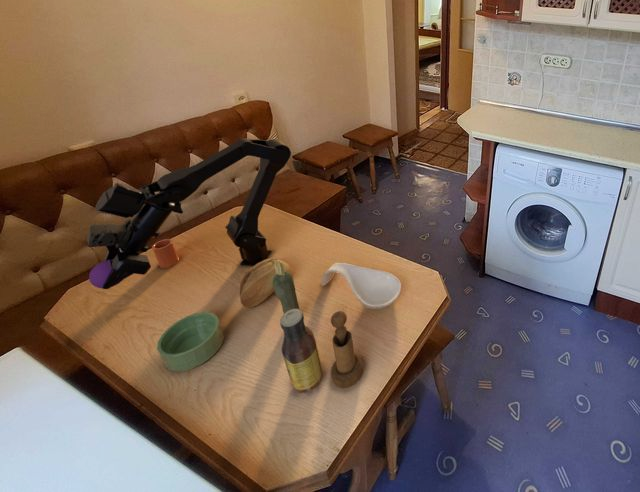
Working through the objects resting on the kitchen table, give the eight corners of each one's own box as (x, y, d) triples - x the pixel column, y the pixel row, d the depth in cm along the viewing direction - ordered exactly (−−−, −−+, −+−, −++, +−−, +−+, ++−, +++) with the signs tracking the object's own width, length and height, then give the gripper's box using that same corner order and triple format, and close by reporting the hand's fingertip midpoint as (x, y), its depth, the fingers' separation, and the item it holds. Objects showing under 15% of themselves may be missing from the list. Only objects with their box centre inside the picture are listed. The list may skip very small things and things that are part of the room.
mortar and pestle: (354, 391, 75) (344, 331, 68) (326, 384, 76) (313, 325, 69) (368, 361, 81) (360, 304, 74) (342, 356, 82) (332, 298, 75)
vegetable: (306, 318, 91) (292, 257, 83) (293, 332, 87) (278, 270, 79) (292, 313, 92) (277, 252, 84) (279, 327, 88) (262, 265, 80)
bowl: (234, 329, 88) (229, 313, 85) (202, 374, 77) (195, 357, 75) (189, 327, 88) (183, 311, 86) (152, 372, 78) (143, 355, 75)
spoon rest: (409, 288, 101) (408, 269, 98) (387, 322, 90) (385, 301, 87) (339, 267, 107) (336, 248, 105) (311, 296, 97) (307, 276, 94)
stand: (182, 257, 110) (175, 239, 107) (171, 268, 106) (163, 249, 103) (168, 256, 110) (160, 238, 107) (155, 267, 106) (147, 249, 103)
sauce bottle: (298, 366, 79) (281, 301, 71) (327, 365, 80) (313, 300, 72) (287, 397, 73) (267, 330, 65) (318, 395, 74) (302, 328, 66)
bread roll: (230, 306, 94) (222, 284, 90) (273, 267, 107) (268, 246, 104) (260, 316, 91) (253, 293, 88) (300, 274, 104) (295, 253, 101)
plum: (131, 269, 90) (122, 250, 87) (131, 285, 85) (121, 264, 83) (96, 282, 86) (85, 261, 83) (94, 298, 81) (82, 277, 79)
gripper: (102, 197, 86) (56, 255, 83) (111, 230, 75) (58, 299, 72) (154, 210, 95) (114, 264, 92) (169, 242, 83) (124, 305, 80)
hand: (103, 281), depth 84 cm, fingers closed on plum, 6 cm apart
